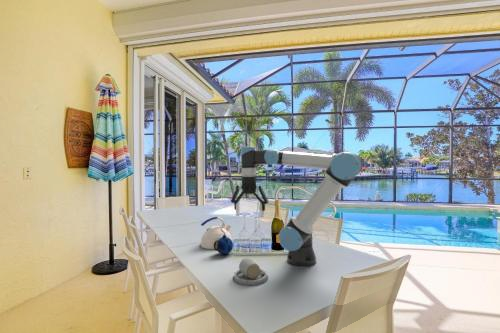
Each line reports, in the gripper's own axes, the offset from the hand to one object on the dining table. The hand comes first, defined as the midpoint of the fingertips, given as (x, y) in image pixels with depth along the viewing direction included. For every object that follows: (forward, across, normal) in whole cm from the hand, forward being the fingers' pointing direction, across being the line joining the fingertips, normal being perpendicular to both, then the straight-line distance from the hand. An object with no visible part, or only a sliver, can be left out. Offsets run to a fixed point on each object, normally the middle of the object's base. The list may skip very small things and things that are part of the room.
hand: (249, 216), depth 146 cm
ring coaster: (+24, -7, +18) cm, 31 cm away
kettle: (+24, +32, -24) cm, 47 cm away
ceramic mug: (+24, -7, +17) cm, 30 cm away
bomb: (+24, +20, -8) cm, 32 cm away
